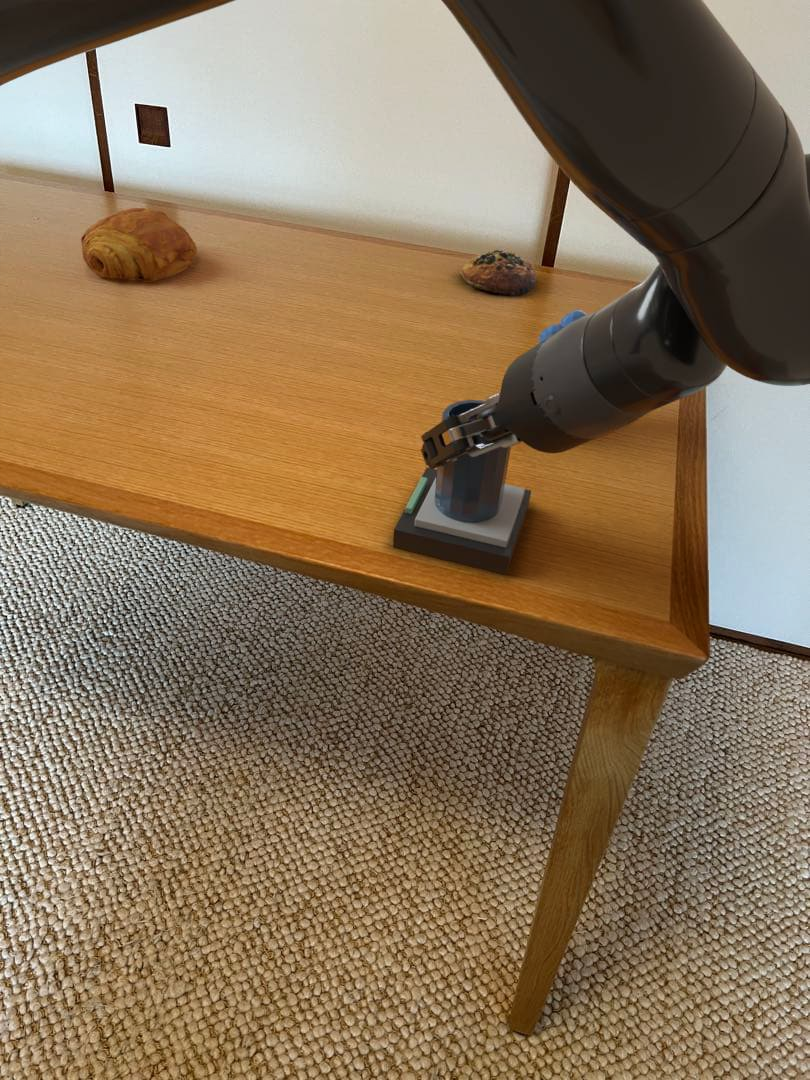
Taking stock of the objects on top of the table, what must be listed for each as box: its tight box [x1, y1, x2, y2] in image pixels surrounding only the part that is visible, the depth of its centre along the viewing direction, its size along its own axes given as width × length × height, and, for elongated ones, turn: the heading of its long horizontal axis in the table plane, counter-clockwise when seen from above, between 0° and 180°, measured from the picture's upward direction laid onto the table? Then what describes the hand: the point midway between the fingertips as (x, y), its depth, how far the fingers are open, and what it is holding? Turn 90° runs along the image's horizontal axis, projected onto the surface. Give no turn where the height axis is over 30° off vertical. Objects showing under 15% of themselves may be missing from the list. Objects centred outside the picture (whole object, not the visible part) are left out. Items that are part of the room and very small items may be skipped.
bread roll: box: [459, 249, 537, 297], centre depth 116 cm, size 11×11×5 cm
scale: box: [392, 466, 532, 576], centre depth 72 cm, size 10×10×3 cm
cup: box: [434, 399, 512, 523], centre depth 68 cm, size 6×6×8 cm
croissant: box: [80, 207, 198, 283], centre depth 112 cm, size 14×16×8 cm
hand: (461, 446), depth 69 cm, fingers open, 6 cm apart
